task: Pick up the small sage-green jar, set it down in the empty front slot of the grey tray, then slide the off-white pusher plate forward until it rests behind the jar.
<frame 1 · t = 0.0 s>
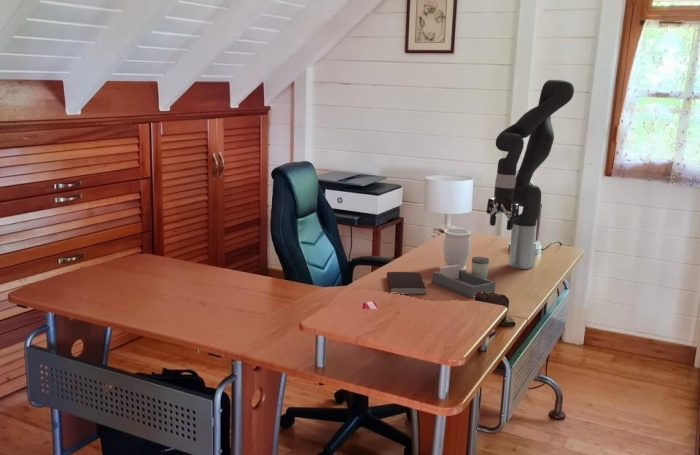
hand: (500, 227, 261), 17 cm above the table, tool pointing down, fingers open, 8 cm apart
jar: (455, 269, 266), on the table
pusher: (449, 273, 246), point 4 cm above the table, slide at 0.0 cm
book: (405, 287, 242), on the table
small jar: (478, 280, 251), on the table
grey tray: (462, 287, 241), on the table
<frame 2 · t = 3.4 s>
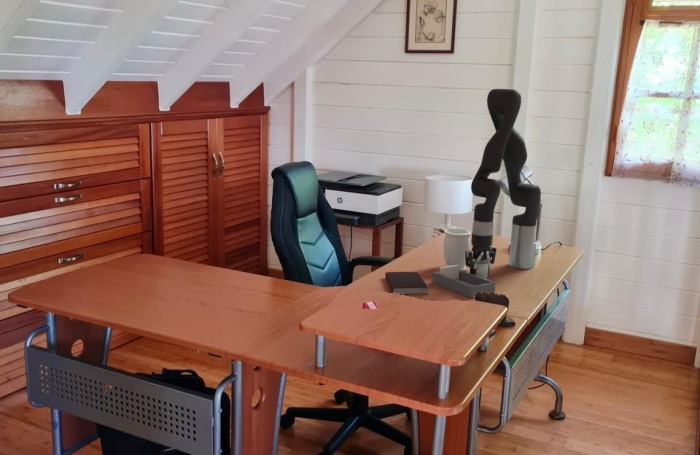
hand: (479, 276, 251), 1 cm above the table, tool pointing down, fingers closed on small jar, 6 cm apart
small jar: (478, 280, 251), on the table, touching gripper
everything else where it was.
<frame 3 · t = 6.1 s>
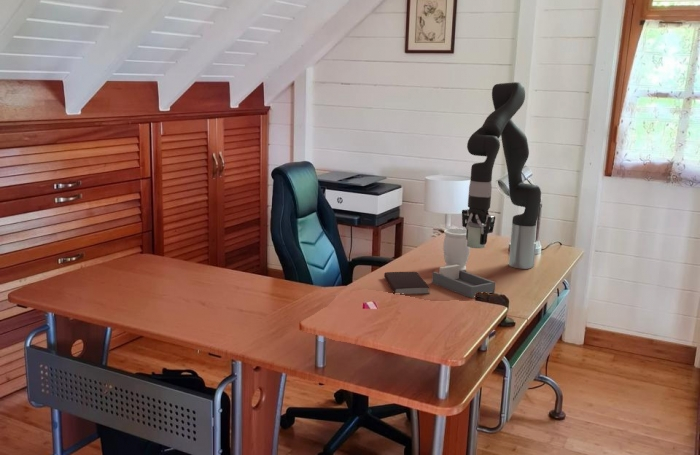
hand: (476, 242, 233), 18 cm above the table, tool pointing down, fingers closed on small jar, 6 cm apart
small jar: (475, 246, 234), point 16 cm above the table, touching gripper
everything else where it was.
when the fingers open (4 cm above the table, at t = 9.3 s): small jar drops 1 cm, resting on grey tray.
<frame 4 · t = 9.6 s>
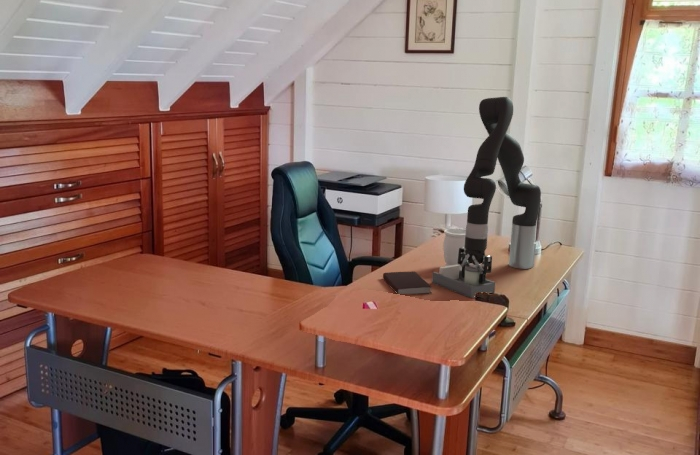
hand: (473, 280, 237), 4 cm above the table, tool pointing down, fingers open, 8 cm apart
small jar: (472, 289, 237), point 1 cm above the table, touching grey tray
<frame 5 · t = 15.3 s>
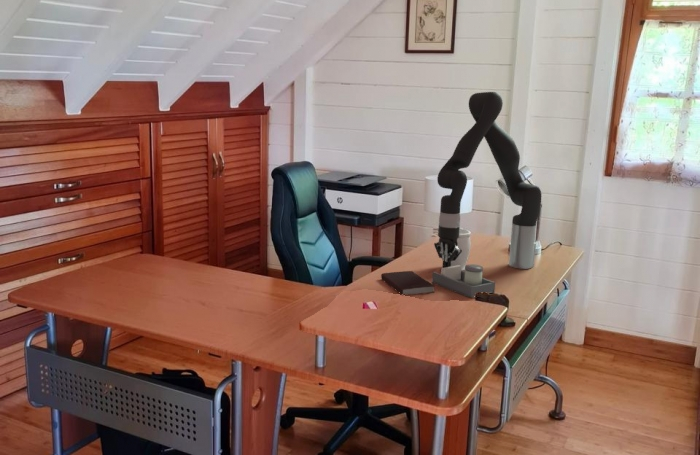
hand: (446, 270, 248), 4 cm above the table, tool pointing down, fingers closed
pusher: (451, 273, 246), point 4 cm above the table, slide at 0.9 cm, touching gripper
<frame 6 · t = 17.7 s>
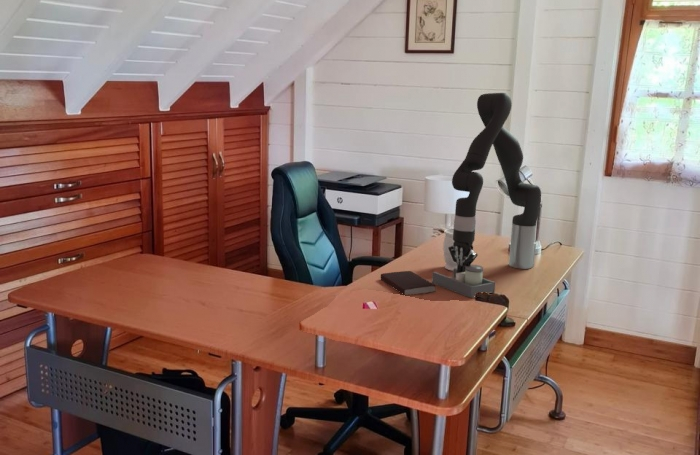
hand: (461, 275, 241), 4 cm above the table, tool pointing down, fingers closed
pusher: (465, 279, 240), point 4 cm above the table, slide at 8.5 cm, touching gripper, small jar
small jar: (472, 289, 237), point 1 cm above the table, touching grey tray, pusher
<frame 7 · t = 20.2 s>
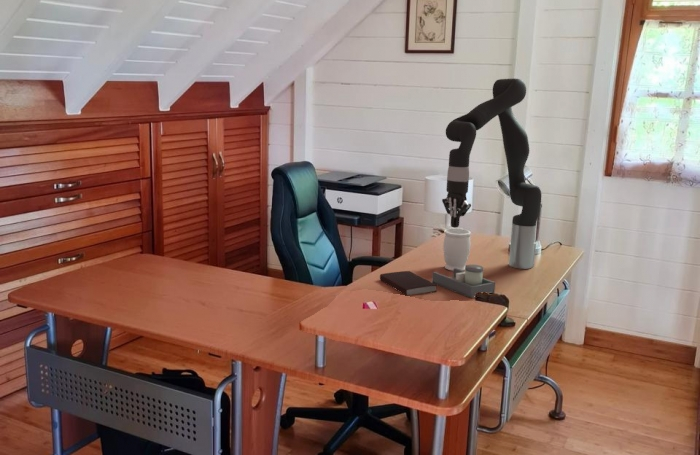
hand: (454, 227, 242), 21 cm above the table, tool pointing down, fingers closed
pusher: (465, 279, 240), point 4 cm above the table, slide at 8.5 cm
small jar: (472, 289, 237), point 1 cm above the table, touching grey tray
at the end: small jar 0.2 cm from the target spot on the grey tray, point 0.8 cm above the grey tray's base; small jar tilted 0°; pusher slide at 8.5 cm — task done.
